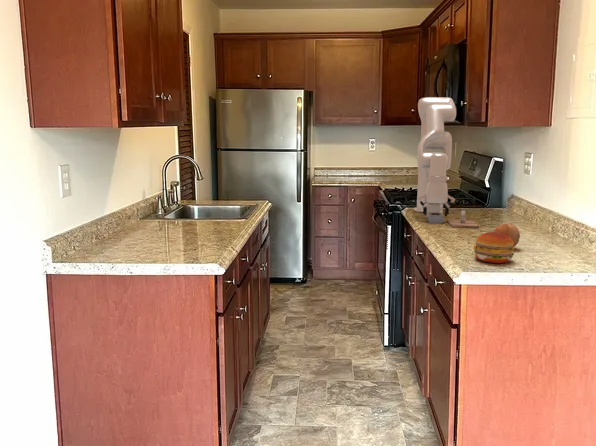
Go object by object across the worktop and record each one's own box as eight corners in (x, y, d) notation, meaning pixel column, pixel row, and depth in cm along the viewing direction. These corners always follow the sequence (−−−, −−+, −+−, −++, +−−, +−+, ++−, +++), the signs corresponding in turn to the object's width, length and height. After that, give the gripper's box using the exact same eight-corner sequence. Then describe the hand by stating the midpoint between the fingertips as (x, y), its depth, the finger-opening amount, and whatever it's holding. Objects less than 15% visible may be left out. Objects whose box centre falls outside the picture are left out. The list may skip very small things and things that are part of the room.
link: (427, 220, 269) (427, 212, 268) (440, 220, 268) (441, 212, 267) (429, 223, 261) (429, 215, 260) (442, 223, 260) (443, 215, 260)
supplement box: (424, 217, 277) (425, 192, 274) (428, 215, 283) (429, 191, 281) (439, 219, 273) (440, 193, 271) (442, 216, 280) (444, 192, 277)
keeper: (446, 221, 267) (447, 208, 266) (472, 222, 265) (473, 208, 264) (451, 227, 251) (452, 213, 250) (479, 228, 250) (480, 214, 249)
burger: (498, 267, 183) (500, 238, 181) (464, 259, 194) (466, 231, 192) (521, 261, 191) (523, 233, 189) (487, 254, 201) (489, 227, 200)
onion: (496, 244, 217) (498, 219, 216) (522, 248, 211) (524, 222, 209) (487, 248, 210) (489, 222, 208) (514, 252, 204) (516, 226, 202)
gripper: (454, 179, 263) (452, 214, 266) (418, 178, 265) (416, 213, 268) (457, 180, 256) (455, 217, 259) (419, 180, 258) (417, 216, 261)
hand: (435, 215), depth 263 cm, fingers open, 9 cm apart
